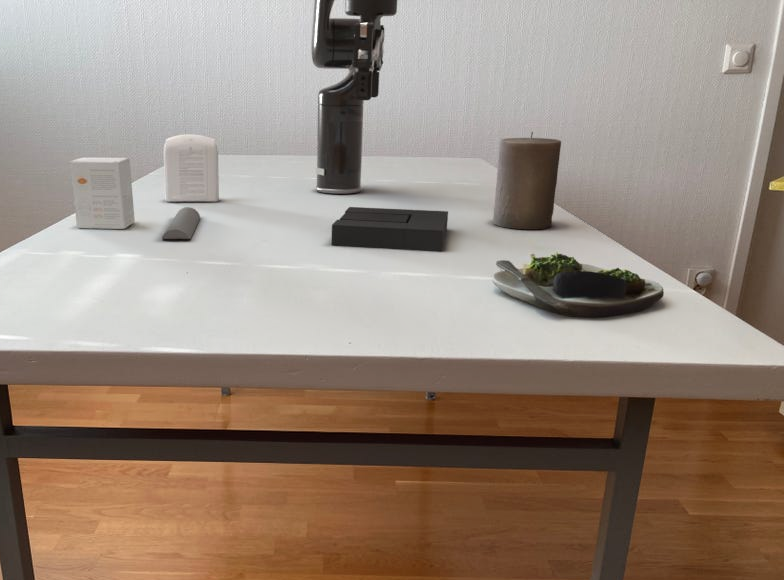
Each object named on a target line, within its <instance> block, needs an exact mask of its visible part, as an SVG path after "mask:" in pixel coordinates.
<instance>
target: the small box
mask: <svg viewBox="0 0 784 580" xmlns="http://www.w3.org/2000/svg"><path fill="white" fill-rule="evenodd" d="M130 161H131V160H130V158H129V157H84V156H83V157H80V158H77V159H73V160H71V161H69V165H70V166H69V167H70V174H71V184H72V195H73V203H74V211H75V223H76V228H77V229H106V230H107V229H108V230H125V229H127V228H128V227H129V226H131V225H132V224H134V223H135V221H136V219H135V207H134V195H133V184H132V174H131V173H132V172H131V162H130Z"/></svg>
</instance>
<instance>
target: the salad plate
mask: <svg viewBox="0 0 784 580" xmlns="http://www.w3.org/2000/svg"><path fill="white" fill-rule="evenodd" d="M530 259H531V261H530V262H528V263H524V264H523V268H517V267H516V266H515V265H514V264H513V262H511V261H510V260H506V259H505V260H504V259H502V260H496V263H495V265H496V267H497V268H498V269H499V270H500V271H497V272H495V273H493V275H492V284H493V285H494V286H495V287H497V288H498V289H499V290H501V291H503V292H504V293H506V294H507V295H509V296H511V298H514V299H517V300H519V301H522V302H524V303H525V302H526V303H528V304H530V305H533V306H535V307H537V308H539V309H542V310H545V311H549V312H552V313H555V314H558V315H563V316H569V317H570V316H571V317H579V318H608V317H615V316H622V315H628V314H633V313H639V312H642V311H645V310H647V309H649V308H651V307H652V306H653V305H654V304H655V303H657V302H658V301H660V300H661V299H662V298H664V295H665V291H664V287H663V286H662V285H661V284H660V283H659V282H657V281H654V280H652V279H648V278H642V277H640V276H639V274H637V273H635V272H632V271H631V270H628V269H620V267H616V268H612V269H606V268H602V267H599V266H595V265H591V264H588V263H581V262H579V261H577V259H575V256H568V255H566V254H562V253H559V252H557V251H556V252H555V254H550V256H542V257H541V256H540V257H536V255H535V254H534V253H531V254H530Z"/></svg>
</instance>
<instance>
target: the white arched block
mask: <svg viewBox="0 0 784 580" xmlns="http://www.w3.org/2000/svg"><path fill="white" fill-rule="evenodd" d="M218 150H219V149H218V145H217V143H216V139H215V138H212V137H210V136H206V135H201V134H194V133H187V134H185V133H184V134H178V135H173V136H170V137H168V138H166V139H165V143H164V145H163V172H164V198H165V201H166V202H174V203H175V202H179V203H181V202H182V203H183V202H185V203H187V202H190V203H191V202H193V203H194V202H197V203H198V202H202V203H203V202H204V203H205V202H211V203H212V202H213V203H216V202H219V200H220V186H219V183H220V182H219V180H220V178H219V177H220V176H219V171H220V170H219V151H218Z"/></svg>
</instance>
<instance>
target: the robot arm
mask: <svg viewBox="0 0 784 580" xmlns="http://www.w3.org/2000/svg"><path fill="white" fill-rule="evenodd" d="M335 1H336V0H314V4H313V5H314V6H313V15H312V16H313V17H312V27H311V40H310V52H311V61H312V64H313V65H314V67H316V68H317V69H325V70H326V69H327V70H330V69H332V70H348V73H347V75H346V76H345V77H344V78H343V79H341V81H338V82H337V83H335V84H332V85H330V86H327V87H324V88H321V89H319V91H318V94H317V135H316V136H317V145H316V147H317V148H316V149H317V150H316V167H315V174H316V186H315V187H316V188H315V191H316V192H318V193H324V194H332V195H347V194H357V193H360V192H361V191H362V163H363V162H362V161H363V160H362V159H363V134H364V133H363V132H364V131H363V130H364V128H363V127H364V101H370V100H371V99H372V98H378V97H379V92H380V89H379V88H380V72H381V69H382V67H383V64H384V60H383V59H384V53H385V52H384V50H385V49H384V43H385V38H386V34H385V33H386V31H385V27H384V24H381V19H382V18H383V17H393V16H395V15H396V14H397V12H398V0H344V1H345V2H344V13H345V14H346V15H347V16H349V17H359V18H347V17H346V18H345V17H344V18H343V17H341V18H340V17H339V18H338V17H337V18H336V17H335V18H334V17H331V13H332V9H333V6H334V3H335Z"/></svg>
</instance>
